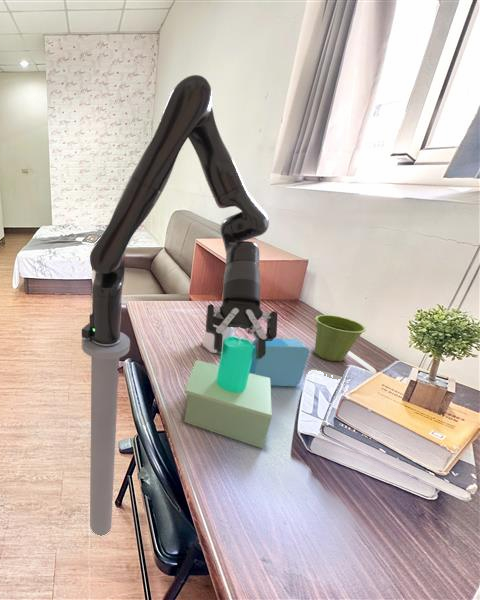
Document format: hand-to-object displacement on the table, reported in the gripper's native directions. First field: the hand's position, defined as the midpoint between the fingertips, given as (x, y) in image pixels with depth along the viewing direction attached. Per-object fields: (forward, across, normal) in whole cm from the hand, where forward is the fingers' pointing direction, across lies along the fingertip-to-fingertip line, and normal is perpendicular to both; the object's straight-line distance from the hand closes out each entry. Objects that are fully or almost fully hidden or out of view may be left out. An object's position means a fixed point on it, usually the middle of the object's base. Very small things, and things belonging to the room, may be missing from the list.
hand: (238, 355), depth 64 cm
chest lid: (+5, 0, +8) cm, 9 cm away
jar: (-12, +1, +36) cm, 38 cm away
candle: (+5, 0, +7) cm, 9 cm away
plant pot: (-16, +33, +40) cm, 54 cm away
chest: (+11, 0, +13) cm, 17 cm away
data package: (-1, +13, +26) cm, 29 cm away
